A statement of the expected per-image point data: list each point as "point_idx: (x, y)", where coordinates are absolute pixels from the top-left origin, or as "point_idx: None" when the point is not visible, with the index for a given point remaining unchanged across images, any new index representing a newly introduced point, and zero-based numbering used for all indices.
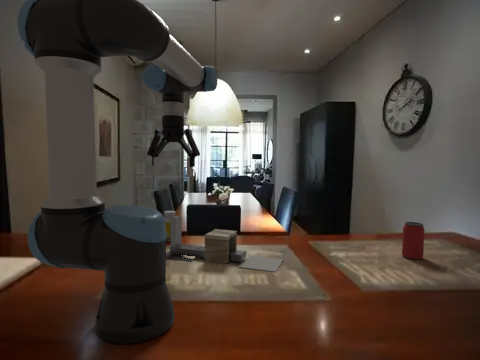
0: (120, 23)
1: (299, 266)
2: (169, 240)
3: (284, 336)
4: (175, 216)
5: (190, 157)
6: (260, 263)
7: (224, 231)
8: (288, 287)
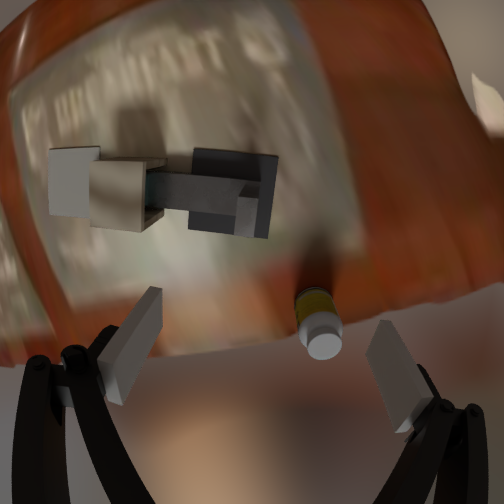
0: None
1: (30, 190)
2: (308, 288)
3: (50, 4)
4: (251, 223)
5: (79, 350)
6: (72, 179)
7: (112, 213)
8: (35, 101)
